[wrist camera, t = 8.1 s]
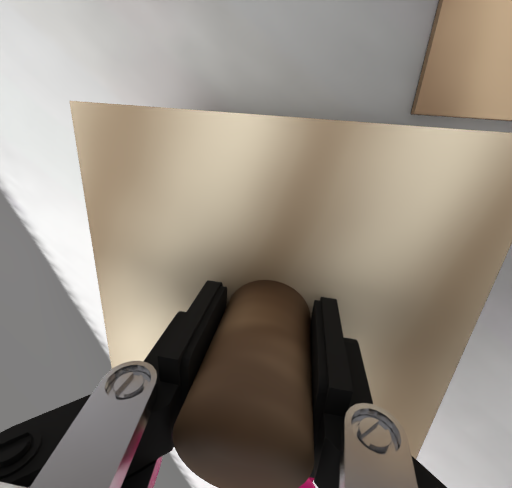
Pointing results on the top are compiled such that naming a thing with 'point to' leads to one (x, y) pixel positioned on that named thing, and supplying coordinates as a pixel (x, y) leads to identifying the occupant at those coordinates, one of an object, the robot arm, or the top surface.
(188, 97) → the top surface
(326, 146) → the lid
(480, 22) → the mat
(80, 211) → the top surface
